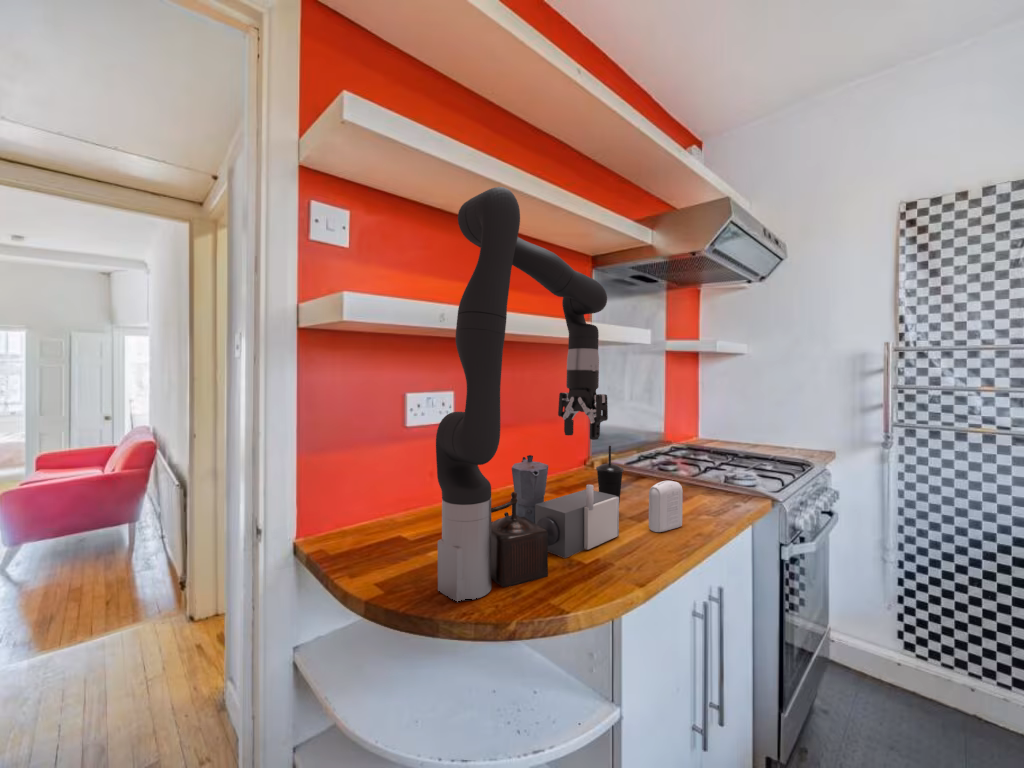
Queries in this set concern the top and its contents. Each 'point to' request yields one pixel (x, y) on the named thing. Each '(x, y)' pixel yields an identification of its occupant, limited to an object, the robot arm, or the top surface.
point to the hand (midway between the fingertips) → (581, 437)
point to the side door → (600, 520)
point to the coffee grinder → (517, 548)
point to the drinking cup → (610, 478)
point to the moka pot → (529, 486)
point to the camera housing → (565, 521)
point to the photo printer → (665, 506)
